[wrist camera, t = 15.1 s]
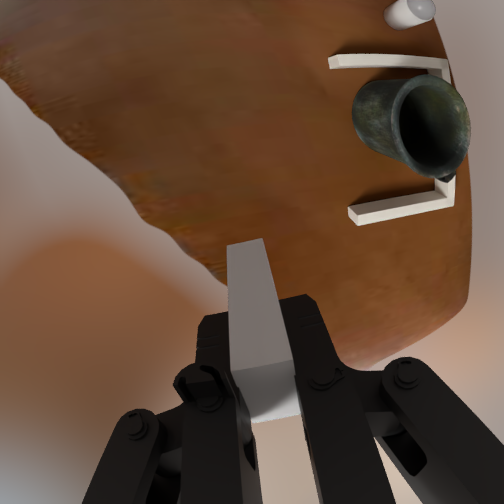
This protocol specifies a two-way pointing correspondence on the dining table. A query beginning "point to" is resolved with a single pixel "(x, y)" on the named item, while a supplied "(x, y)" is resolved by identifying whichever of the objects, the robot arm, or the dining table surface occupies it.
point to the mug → (415, 123)
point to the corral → (443, 191)
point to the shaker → (408, 13)
